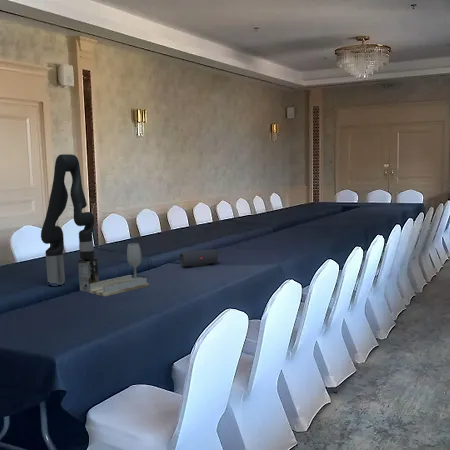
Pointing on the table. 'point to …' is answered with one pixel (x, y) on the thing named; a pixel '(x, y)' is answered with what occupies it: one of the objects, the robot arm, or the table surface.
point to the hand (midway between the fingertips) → (89, 279)
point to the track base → (116, 285)
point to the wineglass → (134, 257)
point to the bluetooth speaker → (198, 258)
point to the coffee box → (86, 274)
